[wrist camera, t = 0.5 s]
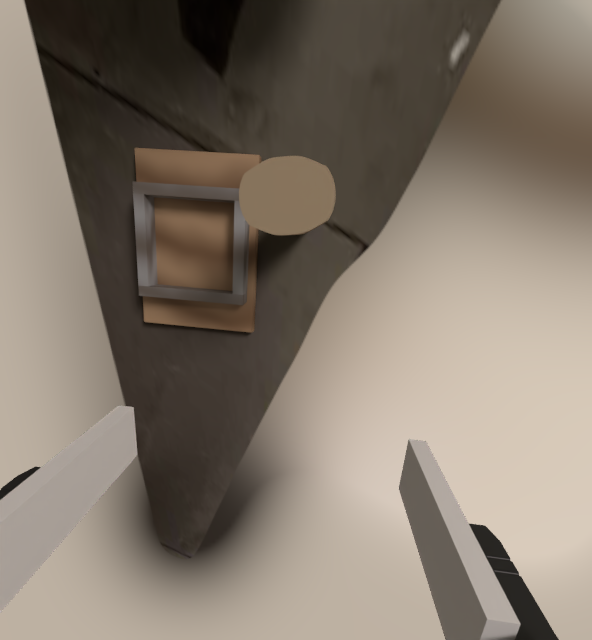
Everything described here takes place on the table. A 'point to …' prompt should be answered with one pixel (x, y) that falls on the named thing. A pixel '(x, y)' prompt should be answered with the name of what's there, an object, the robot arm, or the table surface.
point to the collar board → (194, 239)
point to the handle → (287, 195)
